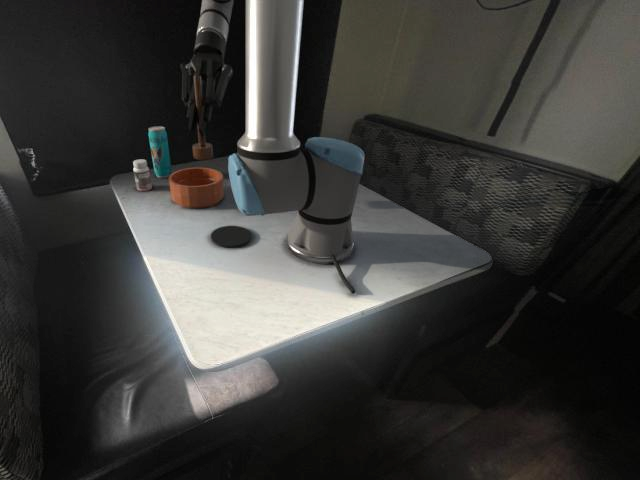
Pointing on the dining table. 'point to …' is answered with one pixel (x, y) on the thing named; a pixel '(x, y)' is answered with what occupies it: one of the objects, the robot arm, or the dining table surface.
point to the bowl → (196, 187)
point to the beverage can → (160, 151)
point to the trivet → (231, 236)
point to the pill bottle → (142, 175)
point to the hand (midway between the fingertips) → (196, 132)
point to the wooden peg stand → (202, 148)
